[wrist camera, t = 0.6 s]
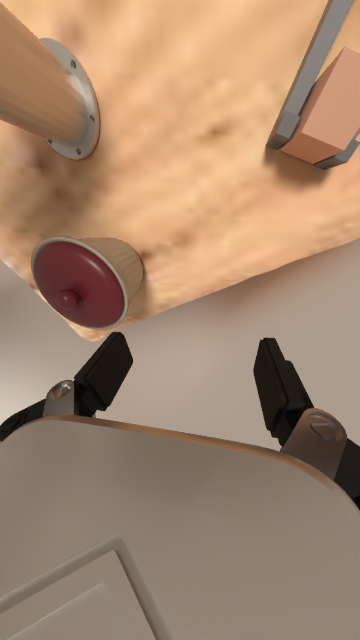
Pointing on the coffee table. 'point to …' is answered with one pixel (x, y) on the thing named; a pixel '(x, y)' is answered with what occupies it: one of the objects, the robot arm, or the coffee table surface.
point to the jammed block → (329, 112)
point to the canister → (87, 278)
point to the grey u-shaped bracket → (305, 79)
